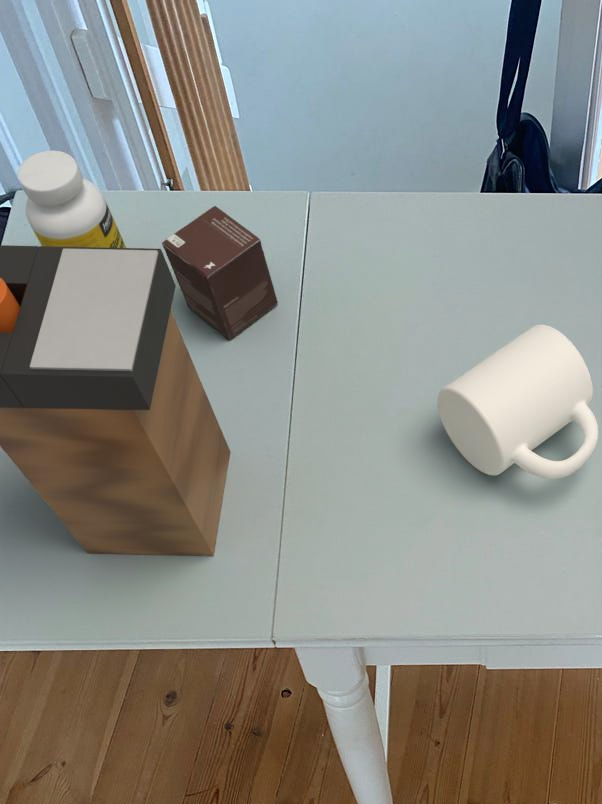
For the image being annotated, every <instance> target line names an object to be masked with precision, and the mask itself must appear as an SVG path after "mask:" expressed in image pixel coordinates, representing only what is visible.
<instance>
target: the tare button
mask: <svg viewBox="0 0 602 804" xmlns="http://www.w3.org/2000/svg"><path fill="white" fill-rule="evenodd" d="M19 310H20V306H19V304H18V302H17V301H16V299H15V298H14V296H13V294H12V293H11V291H10V290H9V288H8V286H7V285H6V283H5V282H4V281H3V279H1V278H0V332H4V333H13V330H14V327H15V323H16V320H17V317H18V313H19Z"/></svg>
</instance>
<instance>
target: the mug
mask: <svg viewBox="0 0 602 804" xmlns="http://www.w3.org/2000/svg"><path fill="white" fill-rule="evenodd" d="M593 397H594V388H593V382H592V378H591V374H590V372H589V369H588V366H587V364H586V362H585V360H584V358H583V356H582V355H581V353H580V352H579V350H578V349H577V348H576V346H575V345H574V344H573V343H572V341H571V340H570V339H569V338H568V337H567V336H565V335H564V334H563V333H562V332H561V331H559V330H558V329H556V328H554V327H552V326H549V325H546V324H535V325H533V326H531V327H530V328H528V329H527V330H526V331H524V332H522V333H521V334H520V335H518V336H516V337H515V338H514V339H512V340H511V341H510V342H508V343H507V344H505V345H504V346H502V347H501V348H499V349H498V350H496V351H495V352H494V353H492V354H491V355H489V356H487V357H486V358H485V359H483V360H481V361H480V362H479V363H478V364H476V365H474V366H473V367H471V368H470V369H468V370H467V371H466V372H464V373H463V374H461V375H460V376H459V377H457V378H455V379H454V380H453V381H451V382H450V383H448V384H446V385H445V386H444V387H442V389H440V390H439V392H438V394H437V401H436V402H437V409H438V410H437V411H438V414H439V418H440V420H441V423H442V425H443V428H444V429H445V432H446V434H447V435H448V438H449V439H450V440H451V442H452V444H453V445H454V446H455V448H456V449H457V450H458V452H459V453H460V454H461V455H462V457H463V458H464V459H465V460H466V461H467V462H468V463H469V464H471V466H473V467H474V468H475V469H476V470H478V471H479V472H481V473H483V474H486V475H489V476H497V475H500V474H502V473H503V472H504V471H506V470H507V469H508V468H510V467H512V465H514V464H516V465H517V466H518V467H519V468H521V469H522V470H523V471H524V472H525V471H526V472H527V473H529V474H531V475H533V476H535V477H539V478H541V479H546V480H547V479H548V480H555V479H556V480H557V479H561V478H565V477H567V476H569V475H572V474H573V473H575V472H577V470H579V469H580V468H582V466H584V465H585V464H586V462H587V461H588V460H589V459H590V458H591V456H592V454H593V453H594V451H595V449H596V447H597V444H598V440H599V425H598V421H597V419H596V416H595V414H594V413H593V411H592V410H591V409H590V406H591V404H592V402H593V401H592V400H593ZM572 421H575V422H576V423H577V424H578V426H579V427H580V429H581V431H582V435H583V442H582V444H581V446H580V448H578V450H577V451H576V452H575V453H574V454H573V455H570V457H568V458H566V459H564V460H551V459H547V458H544V457H542V456H540V455H538V454H537V453H536V452H534V451H533V450H534V449H536V448H537V447H539V446H540V445H541V444H543V443H544V442H546V440H548V439H549V438H551V437H552V436H553V435H554V434H556V433H557V432H558V431H560V430H562V429H563V428H564V427H566V426H567V425H568V424H570V423H571V422H572Z"/></svg>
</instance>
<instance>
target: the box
mask: <svg viewBox="0 0 602 804" xmlns="http://www.w3.org/2000/svg"><path fill="white" fill-rule="evenodd" d="M262 245H263V244H262V241H261V239H260V238H259V237H258V236H257V235H255V234H254V233H253V232H252V231H250V230H249V229H247V228H246V227H244V226H243V224H241V223H240V222H238V221H237V220H235V219H233V217H231V215H228V214H227V213H226V212H225V211H223V210H222V209H220V207H217V206H216V205H213V206H212V207H211V208H209V209H208V210H206V211H204V212H203V213H202V214H200V215H199V216H198V217H197V218H195V219H193V220H192V221H191V222H189V223H187V224H186V225H184V226H183V227H181V228H180V229H178V230H177V231H176V232H175V233H174V232H173V234H171V235H170V236H169V237H168V238H166V239H165V240H163V241H162V242H161V246H162V247H163V249H164V251H165V255H166V257H167V259H168V262H169V264H170V266H171V268H172V271H173V273H174V276H175V278H176V281H177V284H178V286H179V288H180V290H181V292H182V295H183V297H184V300H185V302H186V303H185V304H186V306H187V307H188V308H189V309H190V310H192V312H194V313H195V314H197V316H199V317H200V318H201V319H202V320H204V321H205V322H206V323H208V324H209V326H211V327H213V328H214V329H215V330H216V331H218V332H219V333H220V334H221V335H223V337H225V338H226V339H228V340H231V339H233V338H234V337H236V336H237V335H239V334H240V333H241V332H243V331H244V330H245V329H247V328H248V327H249V326H251V324H253V323H254V322H256V321H257V320H259V319H260V318H261V317H262V316H264V315H265V314H266V313H267V312H269V311H270V310H271V309H273V308H274V307H275V306H277V305H278V304H279V302H278V298H277V295H276V291H275V287H274V283H273V280H272V276H271V273H270V270H269V266H268V263H267V260H266V256H265V252H264V249H263V246H262Z"/></svg>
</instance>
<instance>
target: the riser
mask: <svg viewBox="0 0 602 804" xmlns="http://www.w3.org/2000/svg"><path fill="white" fill-rule="evenodd" d="M0 448H1V449H2V450H3V451H4V453H5V454H6V455H7V457H9V459H10V460H11V461H12V462H13V464H14V465H15V466H16V467H17V468H18V470H19V471H20V472H21V474H22V475H24V477H25V478H26V480H27V481H28V483H30V485H31V486H32V487H33V488H34V489H35V491H36V492H37V493H38V494H39V496H40V497H41V498H42V499H43V501H45V503H46V504H47V505H48V506H49V508H50V509H51V510H52V511H53V513H54V514H55V515H56V516H57V517H58V519H59V520H60V521H61V522H62V524H63V526H64V527H65V528H66V529H67V530H68V532H69V533H70V534H71V535H72V537H74V538H75V540H76V541H77V542H78V543H79V545H80V546H81V547H82V548H83V550H84V551H85V552H86V553H87V554H102V555H103V554H109V555H110V554H111V555H153V556H154V555H158V556H161V555H162V556H203V557H205V556H206V557H211V556H212V557H214V556H215V549H216V544H217V538H218V531H219V524H220V520H221V519H220V518H221V512H222V505H223V500H224V492H225V488H226V482H227V481H226V480H227V476H228V475H227V474H228V468H229V461H230V456H231V450H230V447H229V445H228V443H227V441H226V438H225V435H224V433H223V431H222V429H221V426H220V424H219V421H218V419H217V416H216V414H215V412H214V409H213V407H212V404H211V401H210V400H209V397H208V395H207V393H206V390H205V388H204V386H203V383H202V381H201V378H200V377H199V373H198V371H197V369H196V367H195V364H194V361H193V360H192V357H191V355H190V353H189V350H188V348H187V346H186V343H185V340H184V339H183V336H182V334H181V331H180V328H179V326H178V324H177V321H176V319H175V317H174V314H173V312H172V310H171V311H170V316H169V320H168V325H167V330H166V335H165V340H164V344H163V349H162V354H161V359H160V364H159V368H158V373H157V378H156V383H155V388H154V392H153V397H152V402H151V407H150V410H120V409H71V408H25V407H24V408H15V407H0Z"/></svg>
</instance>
